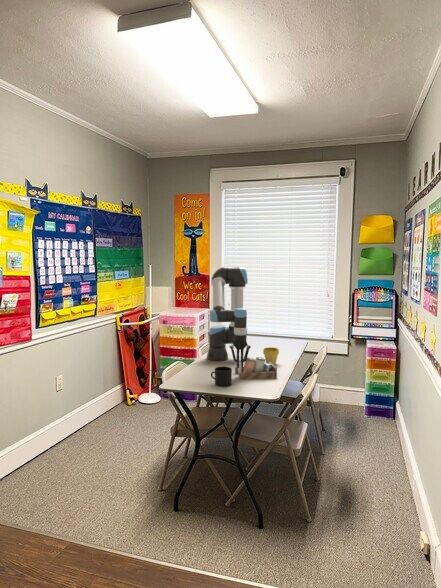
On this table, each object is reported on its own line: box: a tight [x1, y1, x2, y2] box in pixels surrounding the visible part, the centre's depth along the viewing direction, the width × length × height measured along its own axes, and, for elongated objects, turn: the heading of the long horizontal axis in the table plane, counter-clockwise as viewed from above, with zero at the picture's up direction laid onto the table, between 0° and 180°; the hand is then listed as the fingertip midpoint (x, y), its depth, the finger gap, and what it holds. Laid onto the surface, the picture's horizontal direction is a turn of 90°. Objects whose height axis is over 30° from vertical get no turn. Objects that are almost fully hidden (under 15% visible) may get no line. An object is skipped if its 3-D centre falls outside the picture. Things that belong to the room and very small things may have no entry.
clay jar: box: [243, 357, 256, 373], centre depth 245 cm, size 6×6×10 cm
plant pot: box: [262, 346, 280, 365], centre depth 274 cm, size 10×10×10 cm
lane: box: [234, 362, 278, 380], centre depth 246 cm, size 22×14×6 cm, turn 98°
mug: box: [210, 366, 232, 388], centre depth 228 cm, size 9×12×9 cm
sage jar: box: [253, 356, 266, 373], centre depth 246 cm, size 6×6×10 cm
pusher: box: [263, 361, 271, 372], centre depth 247 cm, size 4×11×7 cm, turn 8°
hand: (239, 372), depth 244 cm, fingers closed
